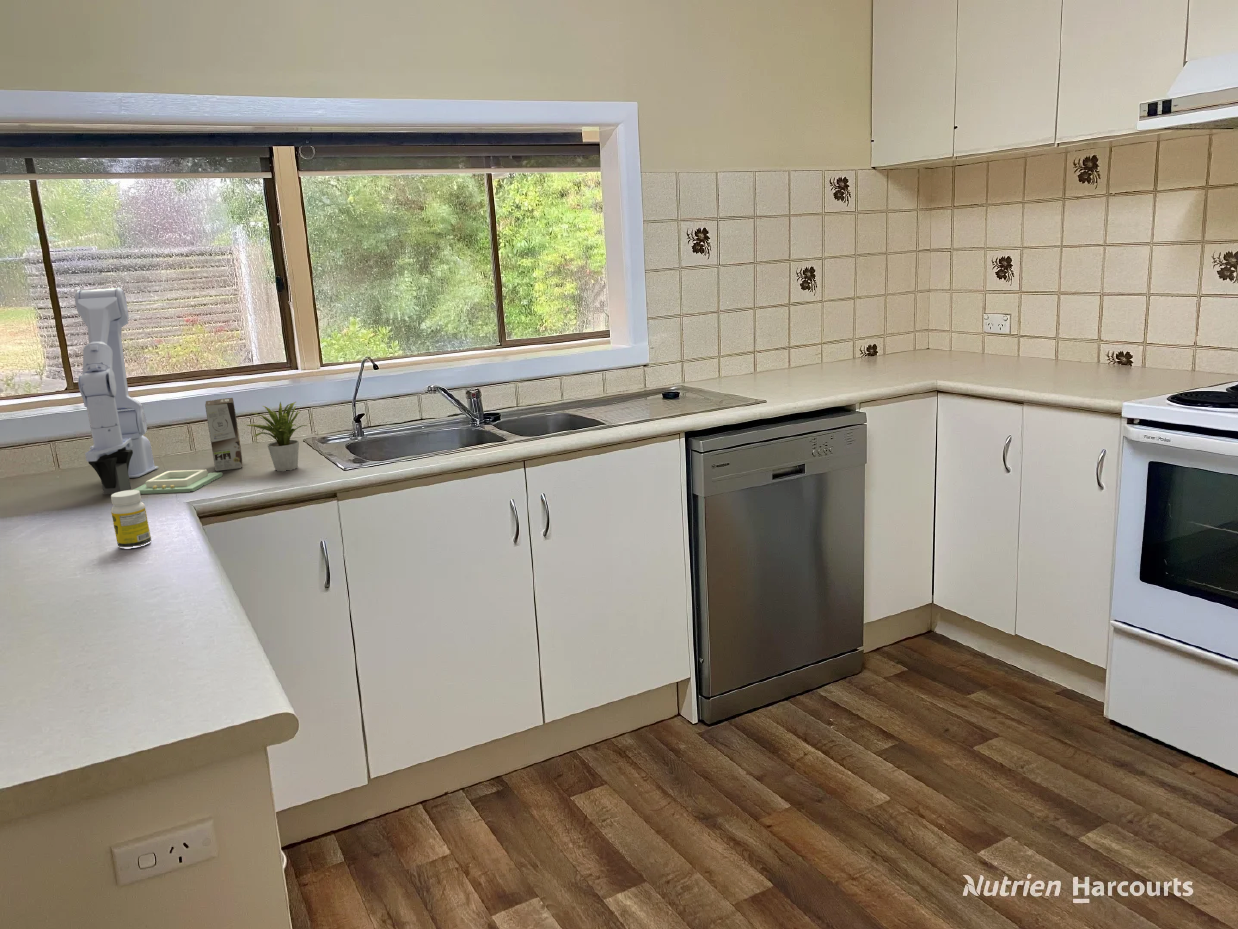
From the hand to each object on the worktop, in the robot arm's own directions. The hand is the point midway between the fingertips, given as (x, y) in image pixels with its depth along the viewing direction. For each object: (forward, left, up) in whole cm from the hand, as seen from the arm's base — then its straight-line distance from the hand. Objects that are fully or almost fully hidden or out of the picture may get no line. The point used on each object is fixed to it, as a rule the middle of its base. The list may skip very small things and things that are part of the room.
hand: (116, 485), depth 210 cm
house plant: (-17, +32, -2) cm, 36 cm away
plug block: (0, 0, -1) cm, 1 cm away
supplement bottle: (+40, +27, -2) cm, 48 cm away
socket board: (-4, +12, -1) cm, 13 cm away
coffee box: (-21, +16, -2) cm, 26 cm away
